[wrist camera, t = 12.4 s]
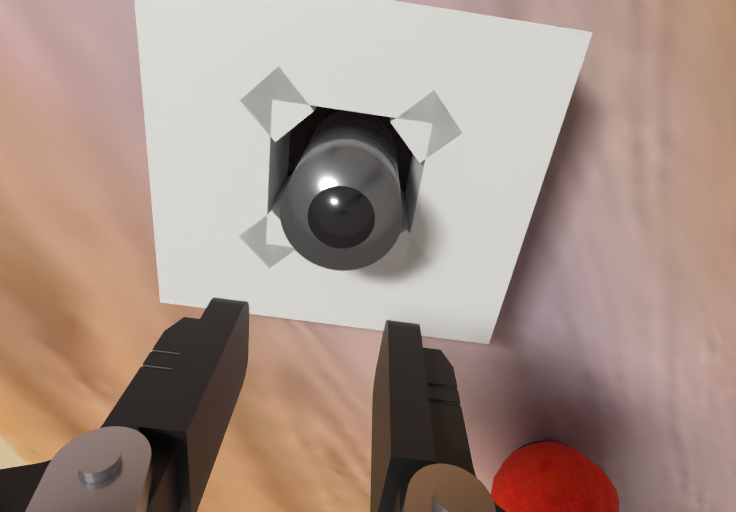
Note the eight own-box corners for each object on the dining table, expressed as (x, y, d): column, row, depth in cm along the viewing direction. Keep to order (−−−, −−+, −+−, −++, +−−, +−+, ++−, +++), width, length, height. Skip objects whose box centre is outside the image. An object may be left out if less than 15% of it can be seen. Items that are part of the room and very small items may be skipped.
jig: (548, 26, 21) (592, 32, 16) (471, 289, 27) (488, 344, 23) (185, -32, 20) (130, -42, 16) (196, 253, 27) (160, 302, 22)
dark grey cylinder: (402, 116, 23) (413, 168, 16) (388, 199, 25) (392, 278, 18) (312, 103, 23) (282, 149, 16) (306, 188, 25) (276, 263, 18)
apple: (539, 396, 31) (581, 499, 25) (616, 448, 34) (673, 555, 27) (457, 459, 34) (475, 565, 28) (533, 502, 37) (566, 610, 30)
